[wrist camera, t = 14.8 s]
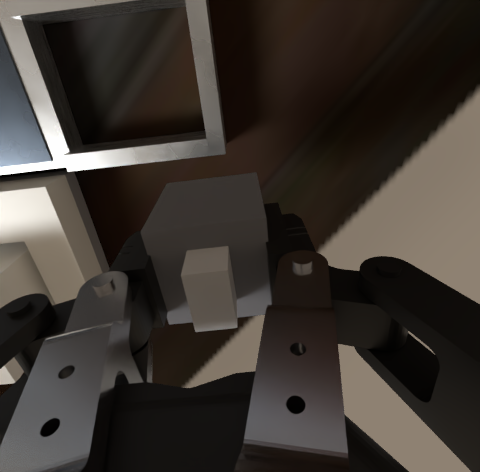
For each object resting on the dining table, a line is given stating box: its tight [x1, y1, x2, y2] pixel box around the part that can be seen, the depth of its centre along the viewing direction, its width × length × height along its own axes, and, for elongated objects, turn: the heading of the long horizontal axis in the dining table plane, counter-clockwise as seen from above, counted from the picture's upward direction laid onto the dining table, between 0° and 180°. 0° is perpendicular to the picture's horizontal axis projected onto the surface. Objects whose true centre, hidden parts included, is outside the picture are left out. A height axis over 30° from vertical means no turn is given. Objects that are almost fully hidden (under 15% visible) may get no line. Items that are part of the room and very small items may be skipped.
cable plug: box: [141, 173, 272, 332], centre depth 11 cm, size 4×4×5 cm
